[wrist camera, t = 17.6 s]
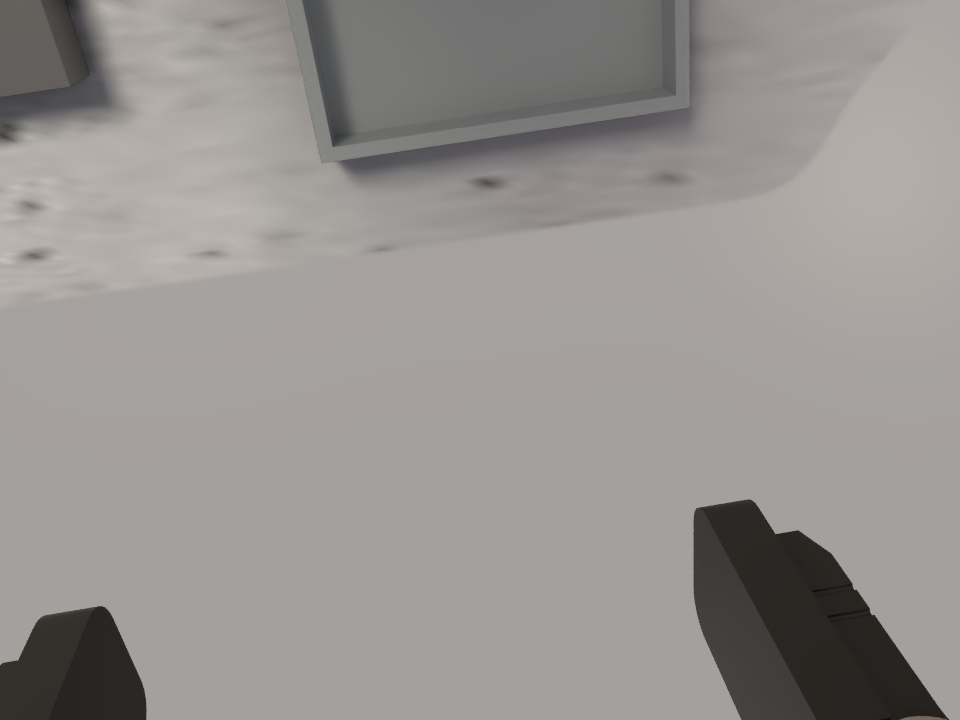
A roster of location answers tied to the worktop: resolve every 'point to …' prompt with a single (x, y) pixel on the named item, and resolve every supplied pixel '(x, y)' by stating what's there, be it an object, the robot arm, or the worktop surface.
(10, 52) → the grey slotted base
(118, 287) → the worktop surface
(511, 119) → the tray
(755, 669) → the robot arm
